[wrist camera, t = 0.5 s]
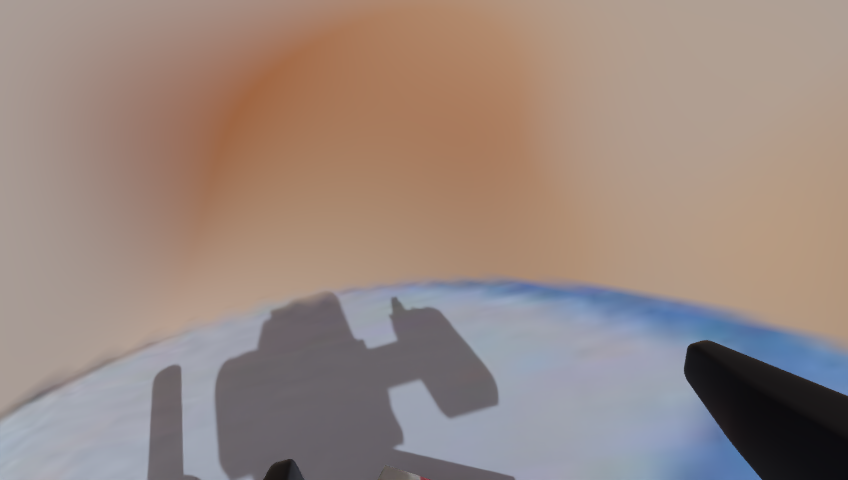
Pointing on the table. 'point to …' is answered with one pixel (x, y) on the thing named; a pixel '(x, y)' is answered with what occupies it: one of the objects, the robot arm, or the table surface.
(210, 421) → the table surface
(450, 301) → the table surface
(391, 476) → the paintbrush
